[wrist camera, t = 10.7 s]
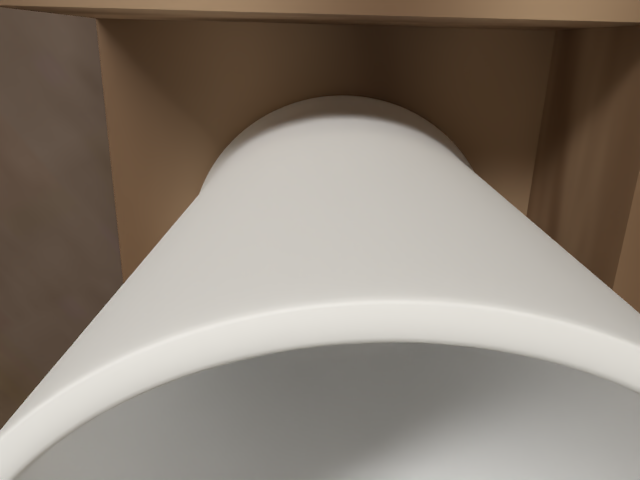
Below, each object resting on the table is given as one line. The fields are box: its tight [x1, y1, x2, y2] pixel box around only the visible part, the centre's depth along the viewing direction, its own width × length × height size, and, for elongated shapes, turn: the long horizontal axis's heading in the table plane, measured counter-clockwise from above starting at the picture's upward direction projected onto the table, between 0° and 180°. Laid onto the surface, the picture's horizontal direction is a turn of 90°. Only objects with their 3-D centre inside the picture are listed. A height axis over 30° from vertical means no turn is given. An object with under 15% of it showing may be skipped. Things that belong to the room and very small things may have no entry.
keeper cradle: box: [0, 0, 640, 313], centre depth 13 cm, size 13×18×9 cm
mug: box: [0, 95, 640, 480], centre depth 11 cm, size 12×8×12 cm
